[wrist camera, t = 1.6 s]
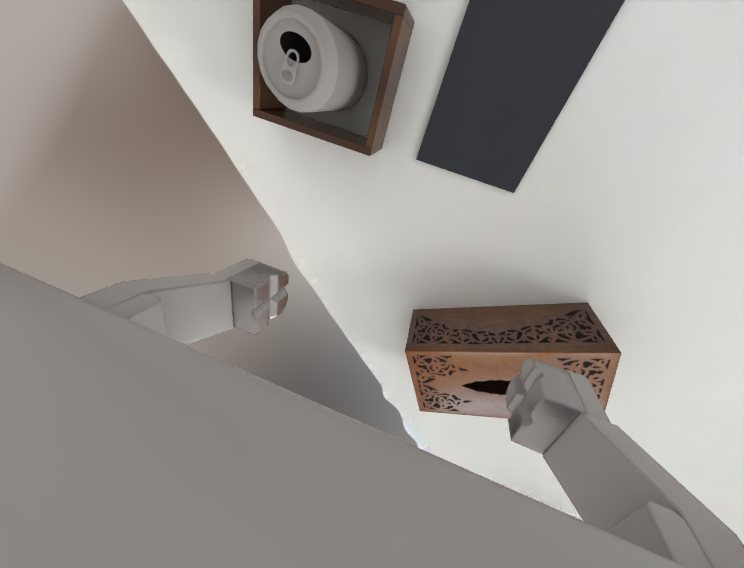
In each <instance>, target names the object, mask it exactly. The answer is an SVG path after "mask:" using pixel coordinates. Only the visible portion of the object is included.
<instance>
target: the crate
mask: <svg viewBox="0 0 744 568" xmlns="http://www.w3.org/2000/svg"><path fill="white" fill-rule="evenodd" d="M315 1H318V2H321V3H324V4H328V5H331V6H334V7H337V8H340V9H343V10H347V11H350V12H353V13H356V14H359V15H362V16H366V17H369V18H372V19H375V20H378V21H381V22H385V23H388V24H391V25H392V30H391V34H390V39H389V43H388V47H387V52H386V56H385V61H384V65H383V70H382V74H381V79H380V83H379V88H378V92H377V96H376V101H375V105H374V110H373V114H372V119H371V123H370V128H369V132H368V137H365V136H362V135H359V134H356V133H353V132H350V131H347V130H344V129H342V128H339V127H336V126H333V125H330V124H327V123H324V122H321V121H318V120H315V119H312V118H309V117H306V116H303V115H301V114H298V113H295V112H292V111H289V110H286V109H285V105H284V104H283V103H281V102H280V101H279V100H278V99H277V97H276V96H275V95H274V94H273V93H272V91H271V90H270V89H269V87H268V86H267V85H266V83H265V80H264V78H263V76H262V74H261V71H260V67H259V62H258V57H257V51H258V39H259V35H260V31H261V28H262V27H263V25H264V23H265V22H266V20H267V19H268V18H269V17H270V16H271V15H272V14H273V13H275V12H276V11H277V10H279V9H280V8H282V7H283V6H287V5H291V4H292V0H253V116H256V117H259V118H261V119H264V120H267V121H270V122H273V123H276V124H279V125H282V126H285V127H287V128H290V129H293V130H296V131H299V132H302V133H305V134H308V135H311V136H313V137H316V138H319V139H322V140H325V141H328V142H331V143H334V144H337V145H339V146H342V147H345V148H348V149H351V150H354V151H357V152H360V153H363V154H366V155H368V156H371V155H372V154H374V153H376V152H377V151H379V150H381V149H382V145H383V142H384V138H385V134H386V130H387V126H388V122H389V118H390V115H391V111H392V107H393V103H394V99H395V95H396V91H397V87H398V84H399V80H400V76H401V72H402V68H403V64H404V60H405V56H406V53H407V49H408V45H409V41H410V37H411V33H412V29H413V25H414V20H413V18H412V16H411V14H410V12H409V10H408V8H407V6H406V4H403V3H400V2H397V1H394V0H315Z"/></svg>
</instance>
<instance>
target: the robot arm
mask: <svg viewBox="0 0 744 568" xmlns="http://www.w3.org/2000/svg"><path fill="white" fill-rule="evenodd" d="M288 277H289V276H288V274H287V273H286V272H285V271H282V270H280V269H277V268H274V267H272V266H269V265H266V264H264V263H261V262H259V261H256V260H253V259H245V260H243V261H240V262H238V263H236V264H234V265H232V266H230V267H227V268H225V269H223V270H221V271H219V272H217V273H215V274H211V273H203V274H193V275H183V276H172V277H163V278H152V279H142V280H132V281H123V282H120V283H117V284H115V285H112V286H109V287H106V288H104V289H101V290H99V291H96V292H93V293H90V294H88V295H85V296H82V297H80V298H79V297H77V296H75V295H73V294H70V293H68V292H66V291H64V290H61V289H59V288H57V287H54V286H52V285H50V284H48V283H46V282H43V281H41V280H39V279H37V278H34V277H32V276H30V275H27V274H25V273H23V272H21V271H19V270H16V269H14V268H12V267H9V266H7V265H5V264H3V263H1V262H0V568H744V545H743V544H742V542H741V541H740V539H739V538H738V536H737V535H736V534H735V533H734V532H733V531H732V530H731V529H730V528H728V527H727V526H726V525H725V524H724V523H723V522H722V521H721V520H720V519H719V518H717V517H716V516H715V515H714V514H713V513H712V512H711V511H710V510H709V509H708V508H707V507H705V506H704V505H703V504H702V503H701V502H700V501H699V500H698V499H697V498H696V497H695V496H693V495H692V494H691V493H690V492H689V491H688V490H687V489H686V488H685V487H684V486H683V485H681V484H680V483H679V482H678V481H677V480H676V479H675V478H674V477H673V476H672V475H671V474H669V473H668V472H667V471H666V470H665V469H664V468H663V467H662V466H661V465H660V464H659V463H657V462H656V461H655V460H654V459H653V458H652V457H651V456H650V455H649V454H648V453H647V452H645V451H644V450H643V449H642V448H641V447H640V446H639V445H638V444H637V443H636V442H634V441H633V440H632V439H631V438H630V437H629V436H628V435H627V434H626V433H625V432H624V431H622V430H621V429H620V428H619V427H618V426H616V425H614V424H611V423H610V421H609V419H608V417H607V415H606V413H605V411H604V409H603V407H602V405H601V403H600V401H599V399H598V398H597V396H596V394H595V392H594V390H593V388H592V386H591V384H590V382H589V380H588V379H587V378H586V377H585V376H584V375H580V374H577V373H574V372H571V371H568V370H565V369H561V368H558V367H555V366H552V365H549V364H546V363H543V362H540V361H537V360H534V359H531V358H527V359H525V360H524V361H523V363H522V364H521V366H520V370H521V374H520V375H518V376H515V377H513V378H512V380H511V382H510V383H509V385H508V389H507V392H506V407H507V409H508V410H509V411H510V413H511V414H512V415H511V417H510V418H509V419H508V423H509V430H510V437H511V441H513V442H516V443H518V444H520V445H522V446H525V447H527V448H529V449H532V450H534V451H536V452H538V453H541V454H543V457H544V459H545V461H546V462H547V464H548V465H549V467H550V469H551V470H552V472H553V473H554V475H555V476H556V478H557V480H558V481H559V483H560V484H561V486H562V488H563V489H564V491H565V492H566V494H567V496H568V497H569V499H570V500H571V502H572V503H573V505H574V507H575V508H576V510H577V511H578V513H579V515H580V516H581V518H582V519H583V521H582V520H580V519H577V518H575V517H573V516H571V515H568V514H566V513H564V512H561V511H559V510H557V509H555V508H552V507H550V506H548V505H546V504H543V503H541V502H539V501H537V500H534V499H532V498H530V497H528V496H525V495H523V494H521V493H518V492H516V491H514V490H512V489H509V488H507V487H505V486H503V485H500V484H498V483H496V482H494V481H491V480H489V479H487V478H485V477H482V476H480V475H478V474H476V473H473V472H471V471H469V470H467V469H464V468H462V467H460V466H458V465H455V464H453V463H451V462H449V461H446V460H444V459H442V458H440V457H438V456H435V455H433V454H431V453H429V452H426V451H424V450H422V449H420V448H417V447H415V446H413V445H410V444H408V443H406V442H404V441H401V440H399V439H397V438H395V437H393V436H390V435H388V434H386V433H384V432H381V431H379V430H377V429H375V428H372V427H370V426H368V425H366V424H363V423H361V422H359V421H356V420H354V419H352V418H349V417H348V416H345V415H343V414H341V413H338V412H336V411H334V410H332V409H329V408H327V407H325V406H323V405H320V404H318V403H316V402H314V401H311V400H309V399H307V398H305V397H302V396H300V395H298V394H296V393H293V392H291V391H289V390H287V389H284V388H282V387H280V386H278V385H275V384H273V383H271V382H268V381H266V380H264V379H262V378H259V377H257V376H255V375H253V374H250V373H248V372H246V371H244V370H241V369H239V368H237V367H235V366H232V365H230V364H228V363H226V362H223V361H221V360H219V359H217V358H214V357H212V356H210V355H208V354H205V353H203V352H201V351H198V350H196V349H194V348H192V347H190V346H187V345H186V344H189V343H192V342H194V341H198V340H201V339H203V338H207V337H209V336H212V335H215V334H218V333H221V332H224V331H227V330H230V329H233V328H234V327H235V328H238V329H241V330H243V331H245V332H248V333H251V334H253V335H257V334H258V333H259V332H260V331H261V330H263V329H264V328H265V327H266V326H267V325H268V324H269V319H273V318H276V317H278V316H279V315H280V314H281V313H282V312H283V310H284V308H285V306H286V304H287V300H288V293H287V291H286V290H285V288H284V287H285V286H286V285H287V284H288Z"/></svg>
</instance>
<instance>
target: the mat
mask: <svg viewBox="0 0 744 568" xmlns="http://www.w3.org/2000/svg"><path fill="white" fill-rule="evenodd" d="M624 1H625V0H470V1H469V4H468V7H467V10H466V13H465V16H464V19H463V22H462V25H461V28H460V31H459V34H458V37H457V40H456V43H455V46H454V49H453V52H452V55H451V58H450V61H449V64H448V67H447V70H446V73H445V76H444V79H443V82H442V85H441V88H440V91H439V94H438V97H437V100H436V103H435V106H434V109H433V112H432V114H431V117H430V120H429V123H428V126H427V129H426V132H425V135H424V138H423V141H422V144H421V147H420V150H419V153H418V156H417V160H419V161H422V162H425V163H428V164H431V165H434V166H437V167H440V168H443V169H446V170H448V171H451V172H454V173H457V174H460V175H463V176H466V177H469V178H472V179H475V180H478V181H481V182H483V183H486V184H489V185H492V186H495V187H498V188H501V189H504V190H507V191H510V192H513V193H514V192H515V190H516V188H517V186H518V185H519V183H520V181H521V179H522V178H523V176H524V174H525V173H526V171H527V169H528V167H529V166H530V164H531V162H532V160H533V159H534V157H535V155H536V153H537V152H538V150H539V148H540V147H541V145H542V143H543V141H544V140H545V138H546V136H547V134H548V133H549V131H550V129H551V127H552V126H553V124H554V122H555V120H556V119H557V117H558V115H559V114H560V112H561V110H562V108H563V107H564V105H565V103H566V101H567V100H568V98H569V96H570V94H571V93H572V91H573V89H574V87H575V86H576V84H577V82H578V81H579V79H580V77H581V75H582V74H583V72H584V70H585V68H586V67H587V65H588V63H589V61H590V60H591V58H592V56H593V55H594V53H595V51H596V49H597V48H598V46H599V44H600V42H601V41H602V39H603V37H604V35H605V34H606V32H607V30H608V28H609V27H610V25H611V23H612V22H613V20H614V18H615V16H616V15H617V13H618V11H619V9H620V8H621V6H622V4H623V2H624Z"/></svg>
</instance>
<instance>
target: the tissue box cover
mask: <svg viewBox="0 0 744 568" xmlns="http://www.w3.org/2000/svg"><path fill="white" fill-rule="evenodd" d="M405 352H406V356H407V361H408V365H409V369H410V373H411V377H412V381H413V385H414V389H415V393H416V397H417V401H418V405H419V410H420V411H425V412H437V413H449V414H461V415H473V416H485V417H497V418H510V417H511V415H512V414H511V413H510V411H509V410H508V409H507V407H506V392H507V389H508V385H509V383H510V382H511V380H512V378H513V377H515V376H518V375H520V374H521V370H520V366H521V364H522V363H523V361H524V360H525V359H527V358H531V359H534V360H537V361H540V362H543V363H546V364H549V365H552V366H555V367H558V368H561V369H565V370H568V371H571V372H574V373H577V374H580V375H584V376H585V377H586V378H587V379H588V380H589V382H590V384H591V386H592V388H593V390H594V392H595V394H596V396H597V398H598V399H599V401H600V403H601V405H602V407H603V409H604V411H605V409H606V405H607V402H608V398H609V395H610V391H611V388H612V384H613V381H614V377H615V373H616V370H617V366H618V363H619V359H620V356H621V352H620V350H619V349H618V347H617V346H616V344H615V343H614V341H613V340H612V338H611V337H610V335H609V334H608V332H607V331H606V329H605V328H604V326H603V325H602V323H601V322H600V320H599V319H598V317H597V316H596V314H595V313H594V311H593V310H592V308H591V307H590V305H589V304H588V303H568V304H543V305H519V306H494V307H470V308H446V309H421V310H413V315H412V320H411V324H410V329H409V334H408V339H407V344H406V349H405Z"/></svg>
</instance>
